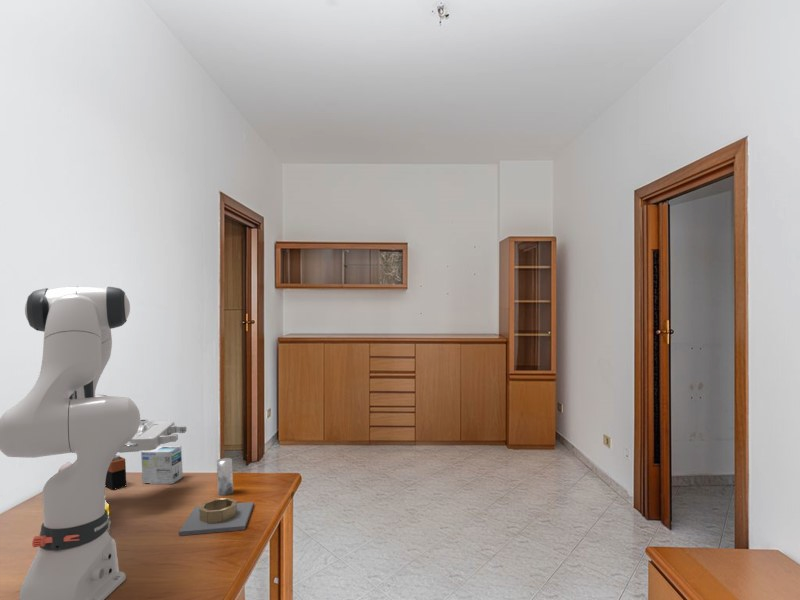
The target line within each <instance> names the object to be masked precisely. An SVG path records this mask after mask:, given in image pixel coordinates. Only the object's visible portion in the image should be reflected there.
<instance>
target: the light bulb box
mask: <svg viewBox="0 0 800 600" xmlns="http://www.w3.org/2000/svg"><path fill="white" fill-rule="evenodd" d="M182 452H183V451H182V445H171V446H169V445H168V446H167V445H163V446H161V445H159V446H158V447H157V448H156V449H154V450H146V451H141V452H140V453H141V454H140V455H141V474H142V477H141V478H142V480H141V481H142V484H143V483H150V484H149V485H155V484H156V485H172V484H175V483H176V482H178V481H180V479H182V478H184V476H183V474H184V473H183V457H182V455H183V454H182Z"/></svg>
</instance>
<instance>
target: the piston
mask: <svg viewBox="0 0 800 600" xmlns="http://www.w3.org/2000/svg"><path fill="white" fill-rule="evenodd" d="M216 474H217V475H216V476H217V477H216V478H217V496H221V497H222V496H223V497H224V496H225V497H226V496H229V495H231V494H233V493H234V482H233V480H234V479H233V459H232V458H231V457H224V458H220V459H217V460H216Z"/></svg>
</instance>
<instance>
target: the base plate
mask: <svg viewBox="0 0 800 600" xmlns="http://www.w3.org/2000/svg"><path fill="white" fill-rule="evenodd" d="M254 506H255V505H254V501H247V502H237V513H236V515H235V517H234V518H232V519H229V520H227V521H224V522H220V523H209V524H207V523H205V522H203V521H200V518H199V508H200V507H201V505H199V506H198V505H197V506H194V508H193V509H192V511H191V512H190V514H189V516H188V517H187V519H186V520H185V521H184V523H183V525H182V527H181V528H180V530H179V531H178V535H179V537H180V536H188V535H189V536H190V535H200V534H214V533H224V532H226V533H227V532H233V531H234V532H235V531H245V530H246V528H247V524H248V521H249V519H250V517H251V514H252V511H253V508H254Z"/></svg>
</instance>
